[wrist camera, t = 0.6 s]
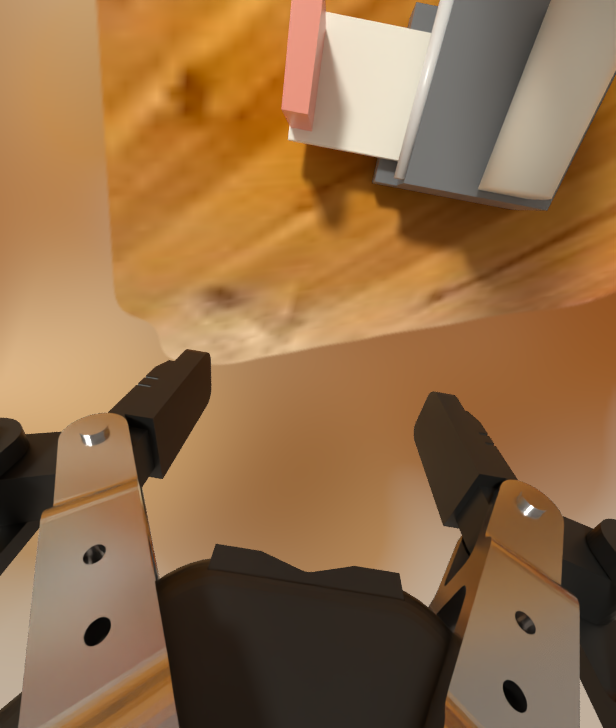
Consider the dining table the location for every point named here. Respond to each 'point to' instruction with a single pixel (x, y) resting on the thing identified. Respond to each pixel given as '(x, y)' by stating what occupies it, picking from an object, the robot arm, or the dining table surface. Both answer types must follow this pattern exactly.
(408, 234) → the dining table surface
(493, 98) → the dispenser
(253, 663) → the robot arm
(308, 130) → the pink-tipped cream block
